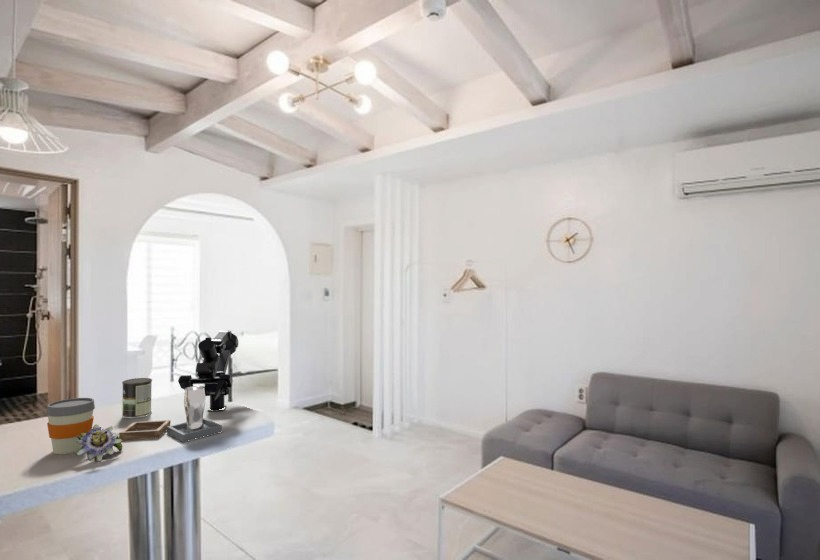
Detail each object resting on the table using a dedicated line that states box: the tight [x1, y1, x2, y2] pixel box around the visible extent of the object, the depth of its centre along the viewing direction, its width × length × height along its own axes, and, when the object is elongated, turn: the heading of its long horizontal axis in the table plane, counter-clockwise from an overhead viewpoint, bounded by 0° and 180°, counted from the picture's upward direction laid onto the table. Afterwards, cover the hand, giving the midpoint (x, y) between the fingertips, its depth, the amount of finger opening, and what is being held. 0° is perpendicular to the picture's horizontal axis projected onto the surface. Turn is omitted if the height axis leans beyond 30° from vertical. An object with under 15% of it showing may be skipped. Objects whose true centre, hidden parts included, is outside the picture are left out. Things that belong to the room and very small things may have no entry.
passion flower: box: [74, 423, 123, 463], centre depth 139 cm, size 11×11×12 cm
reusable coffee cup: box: [45, 397, 96, 455], centre depth 146 cm, size 13×13×15 cm
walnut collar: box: [118, 419, 171, 441], centre depth 161 cm, size 12×12×2 cm
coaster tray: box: [166, 417, 223, 443], centre depth 161 cm, size 14×14×2 cm
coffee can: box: [121, 377, 153, 419], centre depth 183 cm, size 10×10×14 cm
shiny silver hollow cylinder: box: [183, 385, 206, 432], centre depth 162 cm, size 7×7×15 cm
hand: (201, 400), depth 169 cm, fingers open, 9 cm apart
